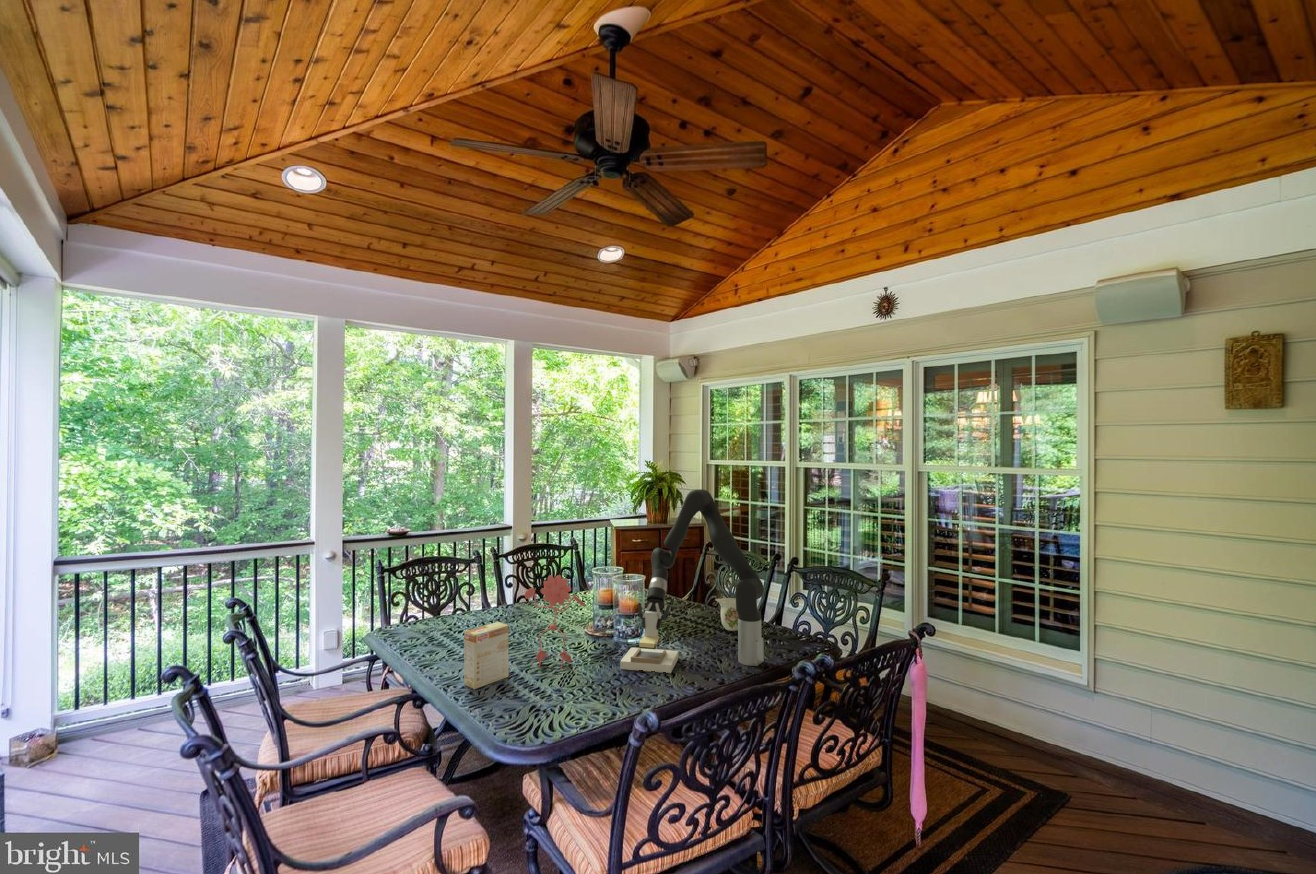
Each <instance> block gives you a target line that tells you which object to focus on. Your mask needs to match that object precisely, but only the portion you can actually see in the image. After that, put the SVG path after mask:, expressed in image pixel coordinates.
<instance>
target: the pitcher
mask: <svg viewBox="0 0 1316 874" xmlns="http://www.w3.org/2000/svg"><path fill="white" fill-rule="evenodd" d="M715 601H716V602H718V604H719V605H720V620H721V624H722V626H723V627H724V629H725V630H727V631H729V632H735V631H737V632H738V613H737V611H736V597H735V598H734V597H724V598H715Z"/></svg>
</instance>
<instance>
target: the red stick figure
mask: <svg viewBox="0 0 1316 874" xmlns="http://www.w3.org/2000/svg"><path fill="white" fill-rule="evenodd" d="M568 581H569V580H568V579H567V578H563V577H562V575H561V574H558V575H556V576H555V577H554V576H553V575H552V574H550V575H548V577H547V580H543V587H542V588H541V589H540V591H539V592H540V593H541V594H542V595H543V600H544V601H545V602H549V605H542V606H541V605H540V606H538V603H537V599H536V589H535V587H530V588H528V589H527V590H526V591H525V592H524V597H525V599H526V600H528V599H531V598H532V597H533V598H534V603H535V608H536V609H543V608H549V609H551V610H553V611H555V614H554V618H553V621H552V624H550V626H549V628H548V629H546V630H544V631H542V632H541V633H539V634H538V641H539V647H540V650H538V652H537V654H535V655H536V656H535V657H536V658H535V659H536V660H537V661H538V668H541V664H542V663H541V662H542V661H544V660H545V659H546V657H547V654H546V651H545V650H544V649H542V643H541V635H543V634H544V633H545V632H547V631H549V630H550V631H551V632H554V631H556V630H557V631H558V632H560V633H561V634H562V635H563V636H564V637H563V638H564V639H563V651H561V652H560V654H559V655H560V657H561V664H560V669H561V670H562V669H563V663H564V661H565V662H567V663H568V664H570V663H572V656H570V655H569V654H568V652H565V647H566V634H565V633H563V632H562V631H561V630H560V629H559V628H557V624H555V621H556V618H557V615H558V611H559V612H561V613H563V612H564V611H565V610H566V609H567V607H568V606H569V605H570V604H571V602H572V601H573V599H574V600H575V602H577V603H578V604H579V605H580V606H582V607H583V608H586V604H585V602H584V601H583V600H581V599H580V598H579V597H578V596H576V595H575V594H574V595H572V597H571V598H570V594H569V592H571V591H572V587H570V586H569V585H568ZM565 600H566V601H568V600H569V601H568V603H567V604H566V606H564V608H563V609H559V608H557V607H555V606H556V605H557V604H558V605H559V606H563V605H564V604H565ZM559 655H556V654H555V655H554V657H557V656H558V657H559ZM576 670H577V668H575V669H574V671H576Z"/></svg>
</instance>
